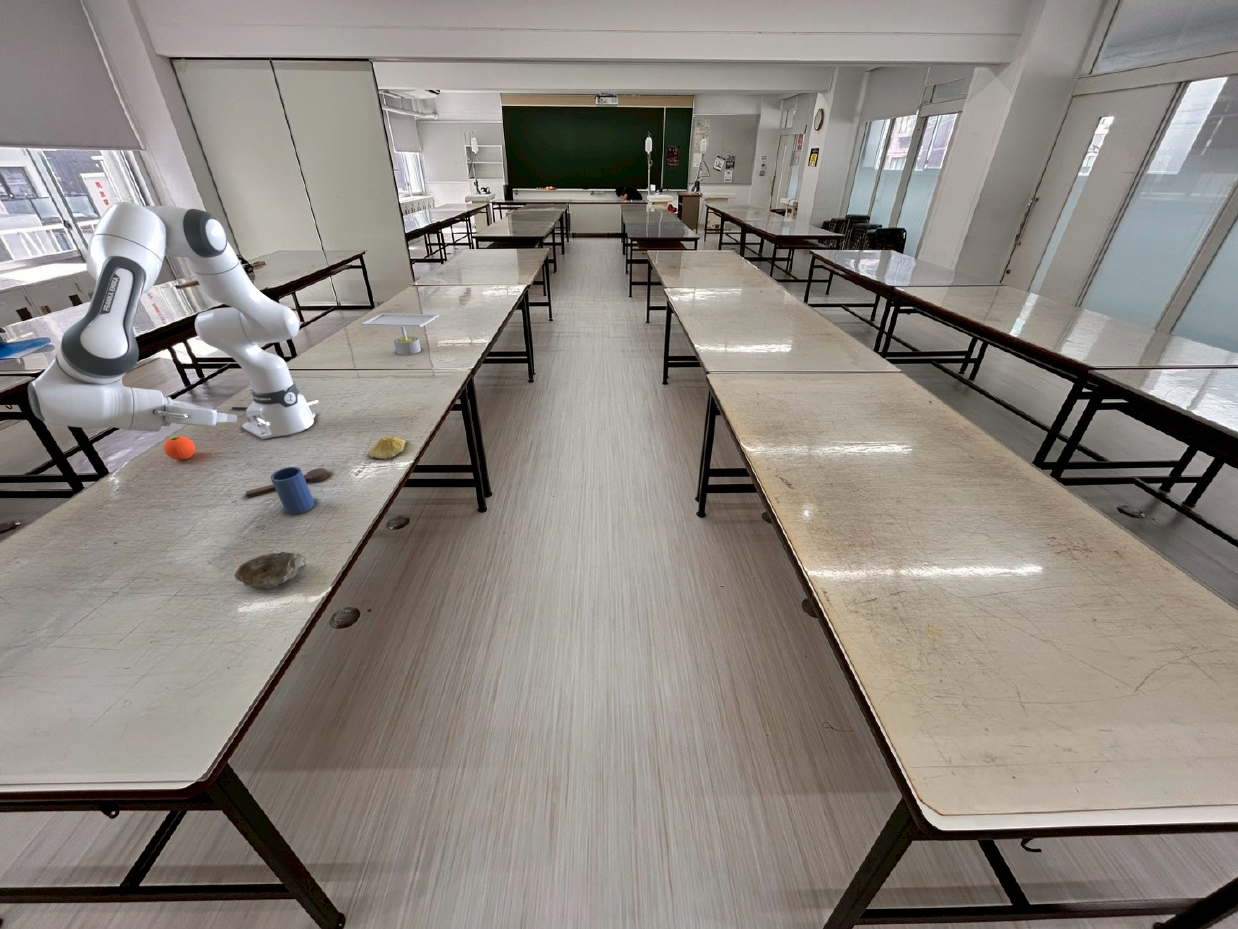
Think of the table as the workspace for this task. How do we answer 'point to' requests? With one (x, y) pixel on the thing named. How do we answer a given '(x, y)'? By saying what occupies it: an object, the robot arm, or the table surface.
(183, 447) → the clementine
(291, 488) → the cup
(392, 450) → the fossil
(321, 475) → the spoon
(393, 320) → the solar panel model
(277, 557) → the stone
